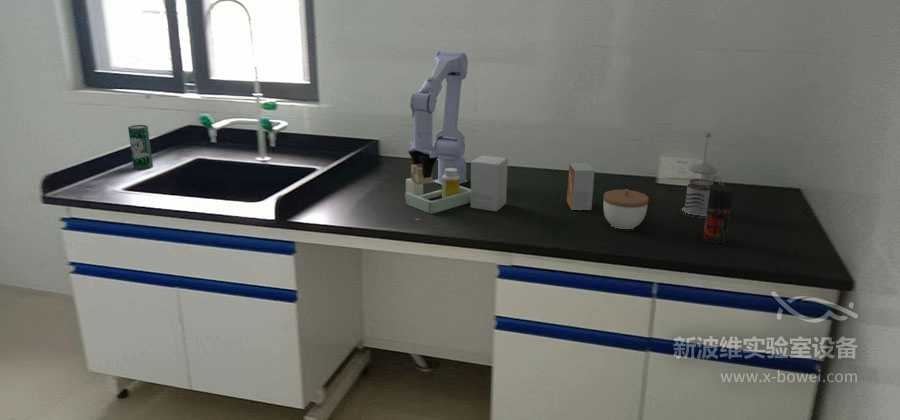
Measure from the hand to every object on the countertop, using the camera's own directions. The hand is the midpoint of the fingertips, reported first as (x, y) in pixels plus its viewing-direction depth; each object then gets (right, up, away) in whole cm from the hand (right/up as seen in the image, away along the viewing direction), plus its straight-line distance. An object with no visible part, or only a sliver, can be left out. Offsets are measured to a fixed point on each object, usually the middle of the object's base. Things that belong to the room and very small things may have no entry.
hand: (422, 175), depth 216 cm
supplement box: (+20, -10, +1) cm, 23 cm away
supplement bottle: (+9, -8, +5) cm, 13 cm away
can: (-103, +4, +35) cm, 109 cm away
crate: (+5, -8, +3) cm, 11 cm away
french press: (+85, -12, -2) cm, 86 cm away
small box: (+49, -10, +1) cm, 50 cm away
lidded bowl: (+59, -16, -14) cm, 63 cm away
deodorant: (+82, -19, -24) cm, 87 cm away
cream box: (-3, -6, +11) cm, 13 cm away
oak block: (0, -2, +1) cm, 2 cm away
